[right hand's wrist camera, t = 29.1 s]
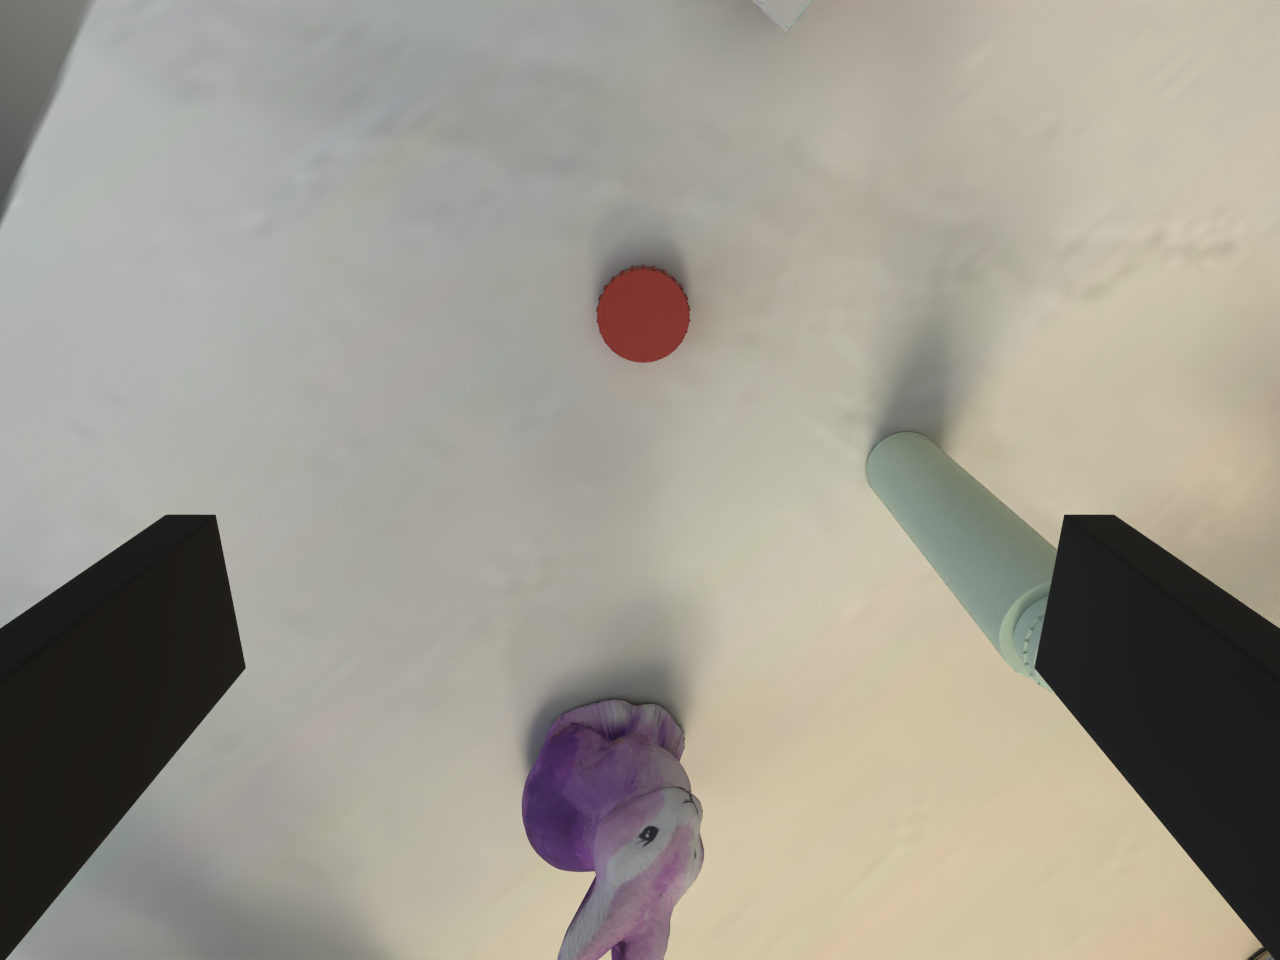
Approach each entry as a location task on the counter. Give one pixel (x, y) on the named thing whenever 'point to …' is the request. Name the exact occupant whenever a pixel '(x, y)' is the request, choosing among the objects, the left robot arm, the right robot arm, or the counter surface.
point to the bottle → (969, 543)
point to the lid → (643, 314)
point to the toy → (783, 11)
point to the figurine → (616, 824)
